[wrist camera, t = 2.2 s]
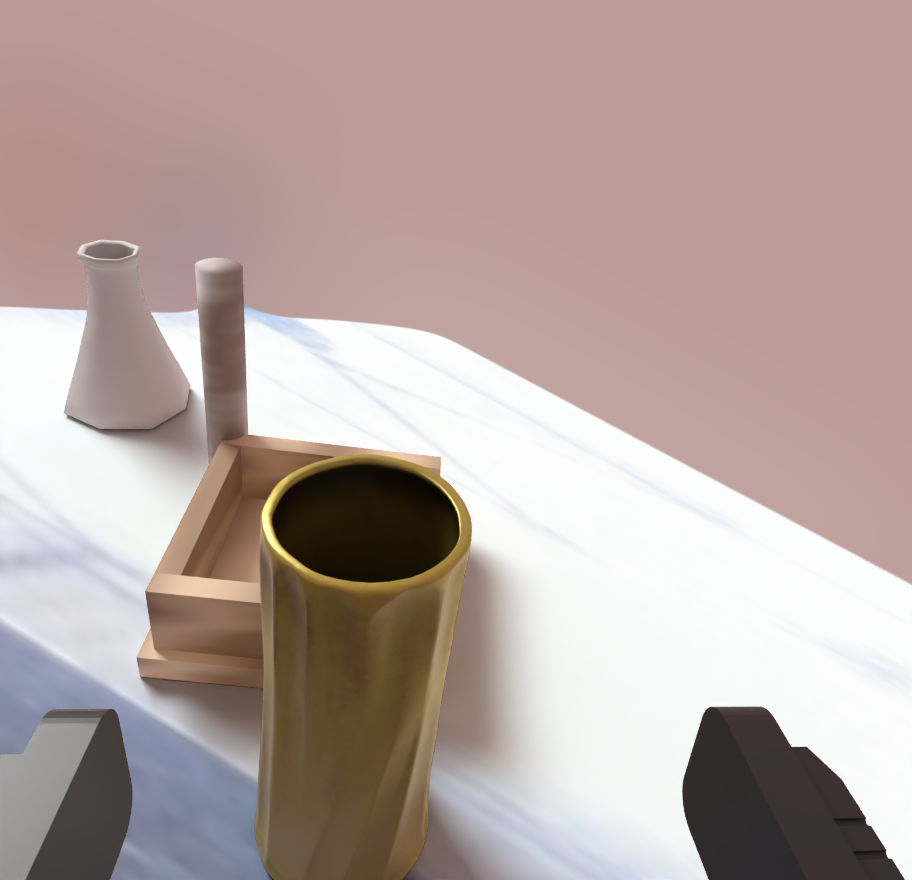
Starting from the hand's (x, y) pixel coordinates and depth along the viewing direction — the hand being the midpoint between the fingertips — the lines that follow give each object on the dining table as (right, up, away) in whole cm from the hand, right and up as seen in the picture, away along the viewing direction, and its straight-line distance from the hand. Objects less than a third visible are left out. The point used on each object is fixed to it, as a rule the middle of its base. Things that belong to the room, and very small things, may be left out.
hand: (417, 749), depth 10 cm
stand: (-6, -3, +25) cm, 26 cm away
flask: (-20, +7, +36) cm, 41 cm away
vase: (-4, -9, +16) cm, 19 cm away
